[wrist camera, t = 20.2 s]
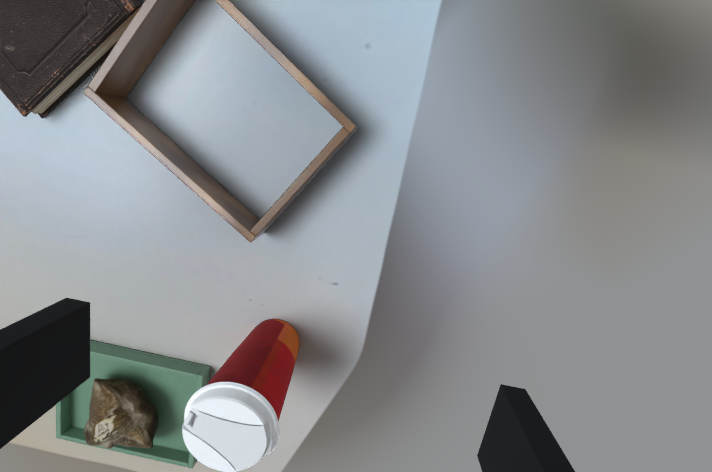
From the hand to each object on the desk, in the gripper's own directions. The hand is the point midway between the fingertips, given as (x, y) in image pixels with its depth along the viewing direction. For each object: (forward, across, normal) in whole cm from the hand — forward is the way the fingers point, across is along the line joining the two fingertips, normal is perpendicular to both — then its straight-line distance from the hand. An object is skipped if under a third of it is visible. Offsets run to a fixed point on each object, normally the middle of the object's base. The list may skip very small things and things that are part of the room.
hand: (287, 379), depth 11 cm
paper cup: (+26, -6, -16) cm, 31 cm away
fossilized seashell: (+26, -22, -27) cm, 44 cm away
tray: (+26, -22, -27) cm, 44 cm away
